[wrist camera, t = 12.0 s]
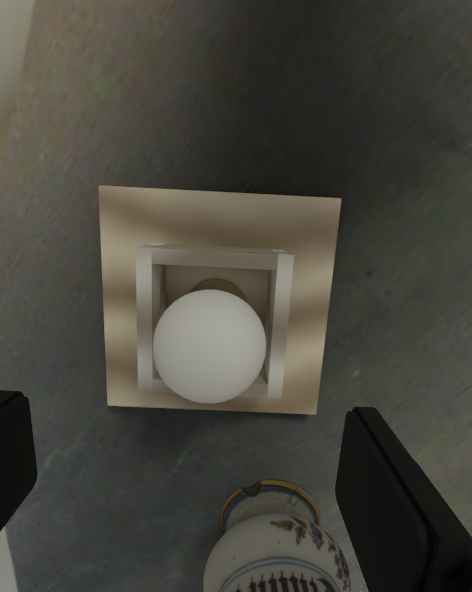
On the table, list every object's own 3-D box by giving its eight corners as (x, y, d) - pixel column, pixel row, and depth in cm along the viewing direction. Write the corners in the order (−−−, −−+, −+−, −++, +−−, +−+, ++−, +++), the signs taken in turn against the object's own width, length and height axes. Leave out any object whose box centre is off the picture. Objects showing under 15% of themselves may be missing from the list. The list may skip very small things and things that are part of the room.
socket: (106, 187, 25) (67, 176, 19) (335, 199, 25) (365, 192, 19) (114, 396, 29) (83, 440, 23) (312, 405, 29) (331, 450, 23)
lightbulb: (271, 314, 25) (298, 380, 15) (211, 358, 26) (195, 451, 15) (224, 253, 24) (216, 276, 14) (163, 301, 25) (110, 358, 14)
